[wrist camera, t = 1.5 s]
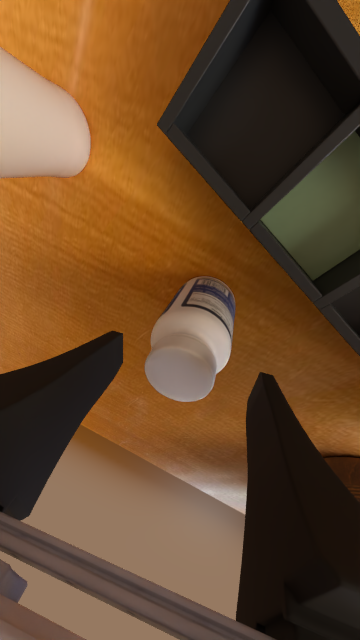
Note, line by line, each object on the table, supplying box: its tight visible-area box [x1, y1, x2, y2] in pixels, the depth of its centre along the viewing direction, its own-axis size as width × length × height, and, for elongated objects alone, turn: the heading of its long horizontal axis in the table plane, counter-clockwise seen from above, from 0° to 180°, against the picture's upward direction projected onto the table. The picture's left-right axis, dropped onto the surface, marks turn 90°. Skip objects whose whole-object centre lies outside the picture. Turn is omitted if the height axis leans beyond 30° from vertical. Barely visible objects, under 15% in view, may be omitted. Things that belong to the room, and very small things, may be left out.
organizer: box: [157, 0, 360, 356], centre depth 13 cm, size 22×8×4 cm, turn 47°
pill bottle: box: [145, 276, 235, 402], centre depth 16 cm, size 5×5×10 cm
